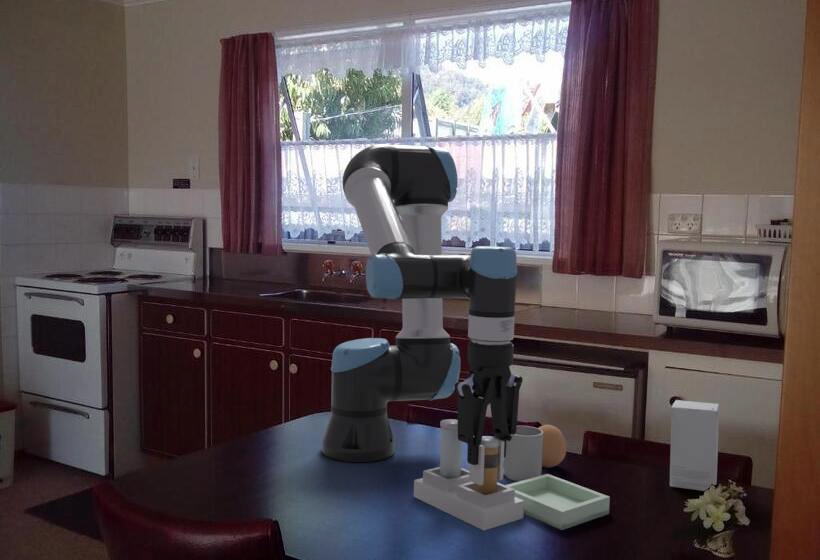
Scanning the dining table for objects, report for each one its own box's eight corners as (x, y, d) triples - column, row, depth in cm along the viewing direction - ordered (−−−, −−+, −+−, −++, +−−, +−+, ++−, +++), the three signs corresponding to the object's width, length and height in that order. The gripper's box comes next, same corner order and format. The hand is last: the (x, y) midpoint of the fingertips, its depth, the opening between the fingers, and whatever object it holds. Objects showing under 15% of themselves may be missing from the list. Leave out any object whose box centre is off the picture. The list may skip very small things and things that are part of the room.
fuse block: (413, 496, 138) (415, 420, 136) (452, 486, 143) (454, 413, 142) (483, 530, 124) (486, 445, 122) (523, 518, 129) (526, 436, 128)
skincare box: (717, 483, 148) (721, 403, 147) (714, 494, 142) (719, 411, 141) (671, 476, 152) (675, 398, 151) (666, 486, 146) (671, 405, 145)
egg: (561, 474, 151) (563, 432, 151) (524, 469, 154) (526, 427, 153) (568, 464, 158) (570, 422, 157) (532, 459, 161) (534, 418, 160)
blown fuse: (469, 496, 130) (471, 438, 129) (485, 492, 132) (487, 434, 131) (485, 503, 127) (487, 443, 126) (501, 499, 129) (503, 440, 128)
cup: (537, 484, 145) (539, 438, 145) (485, 477, 149) (487, 431, 148) (544, 472, 152) (546, 428, 152) (494, 466, 156) (495, 422, 155)
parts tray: (500, 503, 135) (500, 486, 135) (546, 489, 143) (547, 473, 143) (561, 530, 125) (562, 512, 124) (609, 513, 132) (609, 496, 132)
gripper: (468, 348, 119) (463, 497, 121) (543, 339, 130) (537, 476, 132) (436, 341, 125) (432, 483, 127) (510, 333, 135) (506, 464, 137)
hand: (486, 479), depth 129 cm, fingers closed on blown fuse, 4 cm apart
